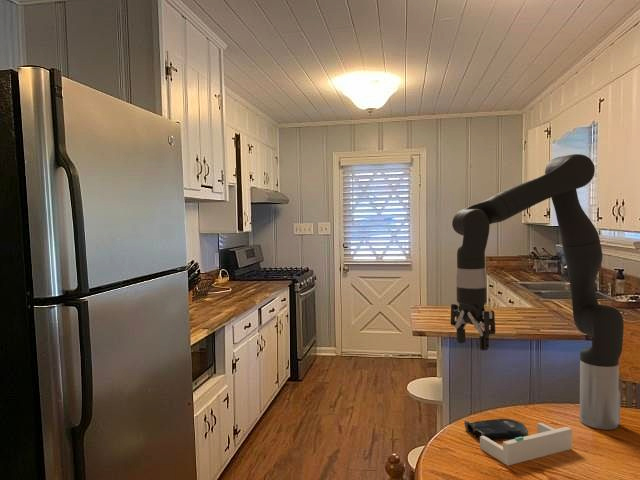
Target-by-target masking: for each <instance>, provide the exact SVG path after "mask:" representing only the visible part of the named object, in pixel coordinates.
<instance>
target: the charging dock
mask: <svg viewBox="0 0 640 480" xmlns="http://www.w3.org/2000/svg"><path fill="white" fill-rule="evenodd" d="M572 430H573V429H572V428H570V427H568V426H563V427H559V428H553V427H552V426H549V425H547V424H544V422H538V423H537V433H535V434H534V433H533V434H529V435H526V436H525V437H522V436H521V437H517V438H515V439H507V440H505V441H504V440H503V441H502V445H501V444H499V443H498V442H495V440H490V439H489V438H487V437H485V436H480V439H479V449H480V450H482V451H483V452H486V453H487V454H488V455H489V456H492V457H493V458H495V459H497V460H498V461H499V462H501V463H502V464H505V465H506V466H512V465H515V464H519V463H522V462H527V461H530V460H531V461H532V460H534V459H539V458H542V457H545V456H550V455H553V454H558V453H562V452H565V451H569V450H572V439H573V438H572V435H573V434H572Z"/></svg>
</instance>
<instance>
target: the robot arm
mask: <svg viewBox="0 0 640 480" xmlns="http://www.w3.org/2000/svg"><path fill="white" fill-rule="evenodd" d="M595 170H596V168H595V164H594V162H593V160H592V159H591V158H590V157H589V156H587V155H586V154H585V155H584V154H582V153H581V154H577V153H575V154H567V155H563V156H557V157H555V158H551V160H549V161H548V163H547V164H546V167H545V170H544V174H543V175H541V176H539V177H537V178H533V179H531V180H528V181H526V182H523V183H520V184H517V185H513V186H511V187H509V188H507V189H504V190H503V191H501V192H499V193H497V194H495V195H493V196H491V197H489V198H488V199H486V200H484V201H483V200H482V201H481V202H477V203H475V204H472V205H470V206H467V207H465V208H463V209H461V210H459V211H458V212H457V213H456V214H455V215H454V216H453V218H452V221H451V222H452V228H453V230H454V232H455V233H456V234H458V235H460V236H462V244H461V246H459V247H458V249H457V252H456V266H457V267H456V277H455V278H456V280H455V281H456V303H451V304H450V325H451V326H453V327H454V328H455V329H456V340H457V341H456V343H458V344H464V343H465V342H466V328H465V327H466V326H467V324H470V325H471V326H472V325H473V327H474V328H475V329H476V330H477V332H478V333H479V336H478V337H479V338H478V339H479V350H480V351H488V349H489V348H490V336H491V335H495V334H496V320H495V319H496V317H495V311H494V310H486V309H485V305H486V304H487V301H488V299H487V295H488V294H487V292H488V291H487V274H486V273H487V272H486V255H485V254H486V253H485V252H486V249H487V244H488V240H489V234H490V228H491V227H490V225H492V224H496V223H497V224H498V223H502V222H504V221H506V220H508V219H510V218H513V217H514V216H516V215H518V214H520V213H522V212H524V211H526V210H527V209H529V208H531V207H533V206H535V205H537V204H540V203H541V202H544V201H547V200H548V199H551V201H552V205H553V207H554V212H555V217H556V221H557V226H558V230H559V233H560V234H559V235H560V241H561V246H562V251H563V255H564V260H565V261H564V262H565V264H566V270H567V273H568V280H569V286H570V287H569V288H570V293H571V294H570V295H571V307H572V317H573V322H574V325H575V328H576V329H577V330H578V331H579V332H581V333H582V334H584V335H586V336H589V337H592V343H591V347H586V348H582V349H581V350H580V351H579V421H580V423H582V424H584V425H585V426H587V427H589V428H594V429H598V430H606V431H608V430H609V431H610V430H615V429H617V428H619V425H620V424H621V390H620V389H619V377H620V376H619V365H620V364H619V361H620V358H621V355H622V353H623V352H622V351H623V341H624V328H625V327H624V318H623V315H622V313H621V311H619V309H617V308H616V307H614V306H610V305H607V304H606V305H605V304H599V301H598V299H597V292H596V286H595V285H596V279H597V276H598V273H599V271H600V268H601V266H602V262H603V250H602V245H601V239H600V235H599V232H598V230H597V228H596V226H595V224H594V223H593V222H592V221H591V219H590V218H589V216H588V215H587V214H586V212H585V211H584V210H583V208H582V206H581V202H580V200H579V197H578V191H577V190H578V189H581V188H583V187H585V186H587V185H588V184H589V183H590V182H592V181H593V179H594V176H595V172H596V171H595Z"/></svg>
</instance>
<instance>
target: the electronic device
mask: <svg viewBox="0 0 640 480" xmlns="http://www.w3.org/2000/svg"><path fill="white" fill-rule="evenodd" d="M463 422H464V427H465V431H468V432H470V434H471V435H472V436H474V437H475V438H477V439H479V440H480V436H485V437H487V438H489V439H490V440H492V441H498V440H500V441H501V440H512V439H515V438H517V437H521V436H522V437H525V436H528V433H529V430H528V428H527V427H526V425H525V424H524V423H522V422H520V421H517V420H514V419H510V418H495V419H486V420H485V419H484V420H478V421H477V420H476V421H473V422H470V421H468V420H466V421H463ZM476 431H477V432H478V433H479V434H478V433H477V432H476ZM480 433H481V434H480Z"/></svg>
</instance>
